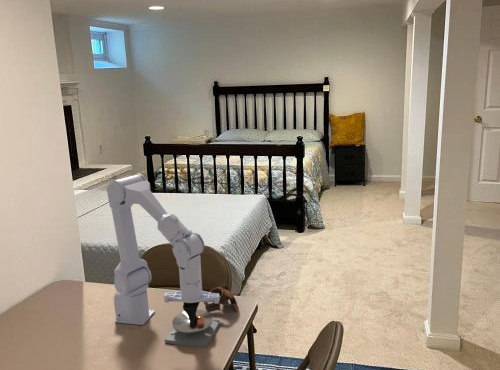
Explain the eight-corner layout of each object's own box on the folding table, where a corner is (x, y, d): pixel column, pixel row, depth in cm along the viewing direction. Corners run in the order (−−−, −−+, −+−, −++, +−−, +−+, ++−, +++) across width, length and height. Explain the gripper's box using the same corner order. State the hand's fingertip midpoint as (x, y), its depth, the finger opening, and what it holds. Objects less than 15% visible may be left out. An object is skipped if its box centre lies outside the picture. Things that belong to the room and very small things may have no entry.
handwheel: (212, 338, 123) (211, 319, 121) (171, 341, 122) (170, 322, 120) (212, 317, 133) (211, 299, 132) (174, 320, 132) (172, 302, 131)
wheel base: (164, 342, 124) (164, 338, 123) (181, 319, 135) (181, 315, 135) (206, 347, 121) (206, 343, 120) (220, 323, 132) (219, 319, 132)
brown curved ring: (240, 318, 135) (225, 300, 132) (213, 329, 138) (198, 312, 134) (241, 290, 146) (228, 273, 142) (216, 301, 148) (203, 284, 145)
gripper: (220, 273, 122) (222, 318, 126) (167, 272, 124) (171, 317, 127) (216, 285, 116) (218, 332, 119) (160, 284, 117) (164, 331, 120)
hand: (193, 325), depth 123 cm, fingers closed, pressing on handwheel
